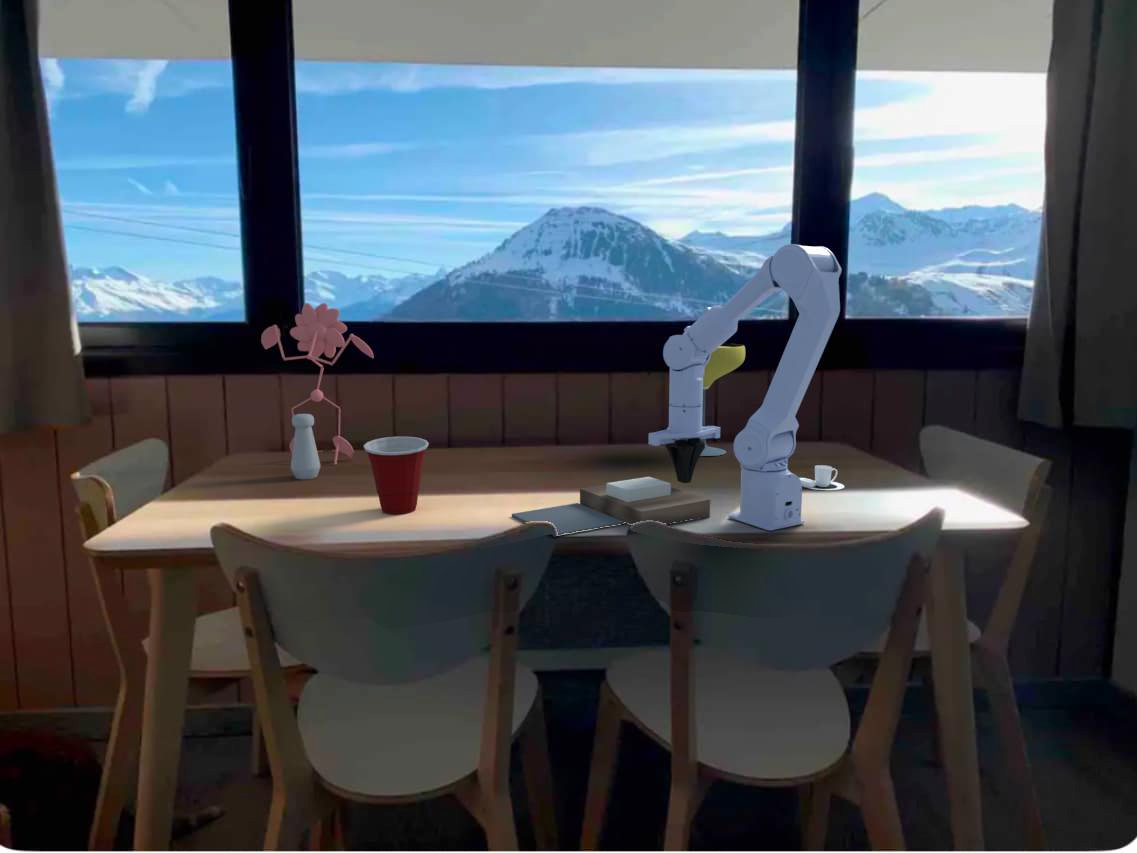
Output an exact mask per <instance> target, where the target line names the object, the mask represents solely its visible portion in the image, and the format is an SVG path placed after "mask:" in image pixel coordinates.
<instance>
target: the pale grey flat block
mask: <svg viewBox="0 0 1137 853" xmlns="http://www.w3.org/2000/svg"><path fill="white" fill-rule="evenodd" d="M605 485H606V495H609V496H612V497H614V498H617V499H620V500H623V501H625V502H631V501H637V500H643V499H649V498H655V497H661V496H667V495H670V494H671V487H672V486H671V485H672V483H671V482H668V481H665V480H662V479H658V478H655V477H651V476H645V477H639V478H632V479H625V480H618V481H612V482H606V483H605Z"/></svg>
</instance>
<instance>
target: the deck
mask: <svg viewBox="0 0 1137 853" xmlns="http://www.w3.org/2000/svg"><path fill="white" fill-rule="evenodd" d="M579 504H581V505H584V506H586V507H589V508H591V509H594V510H596V511H599V512H601V513H604V514H606V515H609V516H611V517H614V518H616V519H619V520H621V521H624V522H626V523H629V524H633V523H636V522H640V521H646V520H653V521H659V522H662V523H666V524H670V523H673V522H680V521H685V520H690V519H697V520H699V519H698V518H703V519H706V517H708V518H710V517H711V514H710V513H711V499H709V498H707V497H704V496H700V495H696V494H693V493H691V492H688V491H684V490H681V489H677V488H674V487H672V486H671V494H670V495H667V496H661V497H655V498H649V499H643V500H637V501H631V502H625V501H623V500H620V499H617V498H614V497H612V496H609V495H606V484H603V485H596V486H595V485H594V486H589V487H582V488H579Z"/></svg>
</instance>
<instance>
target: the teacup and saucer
mask: <svg viewBox="0 0 1137 853" xmlns="http://www.w3.org/2000/svg"><path fill="white" fill-rule="evenodd" d="M833 471H835V474H834V477H833V478H832V472H833ZM837 476H838V470H837V469H836V468H835V467H834V468H833V466H830V465H823V464H821V465H817V464H816V465H815V466H814V480H813V479H810V478H807V477H799V479H800V481H801V484H802V487H804V488H806V489H811V490H817V491H839V490H843V489H844V488H845V485H844V484H842V483H839V482H837V481H835V480H836V478H837ZM831 478H832V479H831ZM830 485H834V486H836V487H835V488H827V487H829V486H830ZM816 486H817V487H820V488H817V487H816Z"/></svg>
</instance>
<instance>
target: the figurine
mask: <svg viewBox="0 0 1137 853" xmlns="http://www.w3.org/2000/svg"><path fill="white" fill-rule="evenodd" d="M294 316H295V317H294V320H295V323H296V326H295V327H292V328H291V329H290V330H289V334H290V336H291V337H292V338H293V339H295V340H297V341H298V343H297V349H298V351H299V352H308V354H307V355H301V356H292V357H291V356H289V357H286V356H285V353H284V349H283V345H282V342H281V337H282V336H281V330H280V328H279V327H278V325H277V324H273V325H272V326H269V327H267V328H266V329H265V330H264V331H263V332H262V334H261V337H260V338H261V339H260V342H261V344H262V346H263V349H265V350H267V349H269V348H271V347H273V346H275V345H276V344H277V343H278V348H279V351H280V354H281V357H282V359H283V361H292V360H300V359H307V360H311V361H312V362H313V363H315V364H316V365H317V366H318V367H320V371H319V376H318V382H317V387H316V389H314V390H312V392H311V393H310V397H309V398H307V399H306V400H304V401H302V402H300V403H299V404H297V405H294V407H291V410H290V411H291V416H292V417H293V416H294V415H295V413H294V410H295V409H296V408H298V407H299V406H302V405H304V404H305V403H307V402H309V401H310V400H312V401H313V402H315V403H316V402H318V403H319V402H321V401H322V400H323V399H324V400H325V401H327V402H328V403H329V404H332V406H334V407H336V408H337V409H338V425H337V426H338V427H337V428H338V432H337V434H338V435H334V436H333V438H332V442H333V445H334V447H335V449H334V450H333V452H335V453H334V461H333V465H334V466H335V465H338V464H337V463H338V456H339V455H338V454H339V452H340V453H342V454H343V455H345V456H346V457H348V458H350V459H354V455H355V454H354V453H355V450H354V449H353V446H352V445H351V443H349V441H348V440H346V439H345V438H344V437H343V436H341V407H340V406H338V405H337V404H335V403H334V402H333V401H331V400H329V399H328V398H327V397H325V396H324V392H323V391H322V390H320V385H321V382H322V376H323V373H324V369H325V368H324V365H323V364H328V365H330V366H334V364H335V363H336V362H337V361H338V359H339V357H340V356H341V355H342V353H343V352H344V351H345V349H346V347H347V346H348V345H349V343H350V341H352V343H353V344H354V345H355V346H356V348H358V349H359V350H360V351H361V352H362V353H363V354H365V355H367V356H368V357H369V358H372V359H374V358H375V356H374V353H373V350H372V349H371V348H370V346H369V345H368V344H367V343H366V342H365V341H364V340H363V339H361V338H360V337H358V336H356V335H354V333H350V334H349V337H348V338H347V340H346V341H345V339H344V337H343V335H342V334H344V333H346V332H347V330H348V327H347V325H346V324H345V323H343V322H342V321H340V320H338V318H339V317H340V310H339V309H337V308H331V307H330V308H328V304H327V303H325V302H324V303H321V304H319V305H317V306H316V307H315V308H314V307H313V306H312V304H310V303H308V302H306V303H304V304H303V306H302V309H301V313H297V314H296V315H294ZM336 348H341V349H340V350H339V351H338V353H337V354H336V352H337V349H336ZM323 353H324V356H325V357H326V358H329V359H333V360H332V361H328V360H325V359H323V358H320V356H321V355H323ZM335 355H336V356H335ZM333 357H334V358H333ZM320 362H321V363H323V364H321V363H320ZM294 428H296V427H294ZM293 445H294V437H293V438H292V440H291V441H290V442H289V450H290V452H291V454H292V453H293ZM319 452H322V450H317V453H319ZM363 464H364V462H363V463H359V465H360V466H361V465H363Z"/></svg>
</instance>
